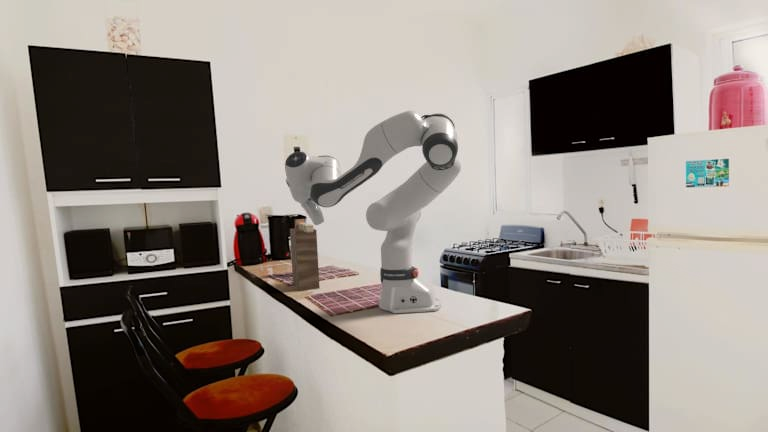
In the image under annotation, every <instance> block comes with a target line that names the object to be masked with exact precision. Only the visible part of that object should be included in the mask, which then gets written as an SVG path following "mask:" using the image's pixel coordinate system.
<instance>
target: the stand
mask: <svg viewBox="0 0 768 432" xmlns="http://www.w3.org/2000/svg"><path fill="white" fill-rule="evenodd" d="M313 230H314V232H308V233H307V232H304V231H302V230H300V229H296V228H295V227H294V228H293V227H292V228H289V237H290V238H289V239H290V241H289V242H290V259H291V258H292V260H291V272H292V284H293V285H294V287H295V288H296V289H297V291H298V292H301V291H309V290H310V291H311V290H316V289H317V290H318V289H320V272H319V270H320V269H319V256H318V255H319V253H318V239H317V238H318V235H317V229H316V228H313Z"/></svg>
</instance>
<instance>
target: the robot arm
mask: <svg viewBox="0 0 768 432" xmlns="http://www.w3.org/2000/svg"><path fill="white" fill-rule="evenodd" d="M363 139H364V140H363V142H362V143H363V144H362V147H361V151H360V154H359V157H358V159H357V161H356V163H355V164H354V165H353V167H351V168H349V169H348V170H346V172H344V173H342V174H341V164H340V162H339V160H337V158H335V157H333V156H331V155H318V156H314V155H310V154H308V153H307V152H305V151H294V152H292V153H291V154H289V155H288V156H287V158H286V160H285V162H284V171H285V175H286V178H285V183H286V185H287V186H288V188H289V191H290V193H291V197H292V198H293V200H294V201H295V202H296V203H299V204H300V207H302V208H303V210H304V211H305V212H306V214H307V215H308V217H309V218H310V220H311V222H312V224H313V226H319V225H320V224H323V223H324V222H325V218H324V214H323V211H322V209H321V208H332V207H334V206H336V205H337V204H339V203H340V202H341V201H342V200H343V199H344V198H345V197H346V196H347V195H349V194H350V193H351V192H353V191H355V190H356V189H357V188H358V187H359V186H362V185H363V184H364V183H366V182H367V181H368V180H370V179H371V178H373V177H374V176H375V175H376V174H378V173H379V172H380V171H381V169H382V168H383V166H384V165H385V164H386V163H387V162H389V161H390V160H391V159H392V158H393V157H395V156H396V155H399V154H400V153H402V152H403V151H405V150H407V149H408V148H413V147H422V148H421V149H422V150H421V151H422V154H423V157H424V159H425V161H426V162H424V163H423V164H422V165H421V166H420V167H419V168H418V169H417V170H416V171H415V172H414V173H413V174H412V175H411V176H410V177H408V178H407V180H405V181H404V182H403V183H402V184H400V185H399V186H397V187H395V188H394V189H393V190H392V191H391V190H390V192H389V193H387V194H385V195H384V196H383V197H381V198H380V199H377V200H376V201H374V202H373V203H371V204H370V205H369V206H367V208H366V211H365V213H366V214H365V220H366V223H367V224H368V226H369V227H370V228H372V229H373V230H377V231H382V232H386V235H385V238H384V239H383V241H382V243H381V246H380V260H381V261H380V262H381V267H380V271H379V273H380V274H379V276H380V283H381V288H380V289H381V291H380V299H379V303H378V308H380V309H381V310H383V311H388V312H390V313H392V314H407V313H408V314H409V313H423V312H424V313H425V312H436V311H438V310H440V309H441V308H442V303H441V302H442V301H441V299H439V298H437V297H436V295H435V291H434V290H433V288H432V286H431V284H429V283H427V282H426V281H425V280H423V279H422V278H420V277H419V269H418V267H415V266H413V252H412V250H413V247H412V245H413V239H414V235H415V231H416V230H415V229H416V226H417V224H418V222H419V220H420V218H421V216H422V210H421V209H424V208H425V207H427V206H428V205H430V203H432V202H433V200H435V199H436V198H437V197H439V195H441V194H442V193H443V192H444V191H445V190H446V189H447V188H448V187H449V186H450V185H451V184H452V183H453V182H454V180H455V179H456V178H457V177H458V175H459V174H460V172H461V171H462V170H461V169H462V167H461V162H460V160H459V158H458V157H457V155H458V150H459V144H458V134H457V131H456V128H455V123H454V121H453V120H452V119H451V118H450V117H449V116H448V115H446V114H443V113H433V114H424V115H422V116H421V115H420V114H419V113H417V112H416V111H413V110H406V111H403V112H400V113H398V114H395V115H393V116H390V117H389V118H386V119H385V120H383V121H381V122H379V123H377V124H376V125H374V126H373V127H372V128H370V129H369V131H368V132H366V134H365V137H364V138H363Z"/></svg>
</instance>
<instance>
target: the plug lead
mask: <svg viewBox="0 0 768 432" xmlns="http://www.w3.org/2000/svg"><path fill="white" fill-rule="evenodd" d="M294 228H296V229H300V230H302V231H304V232H307V233H308V232H314V230H313V229H314V224H310V223H307V222H306V220H305V219H304V218H301V219H300V218H299V219H298V218H297V219H294Z"/></svg>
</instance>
